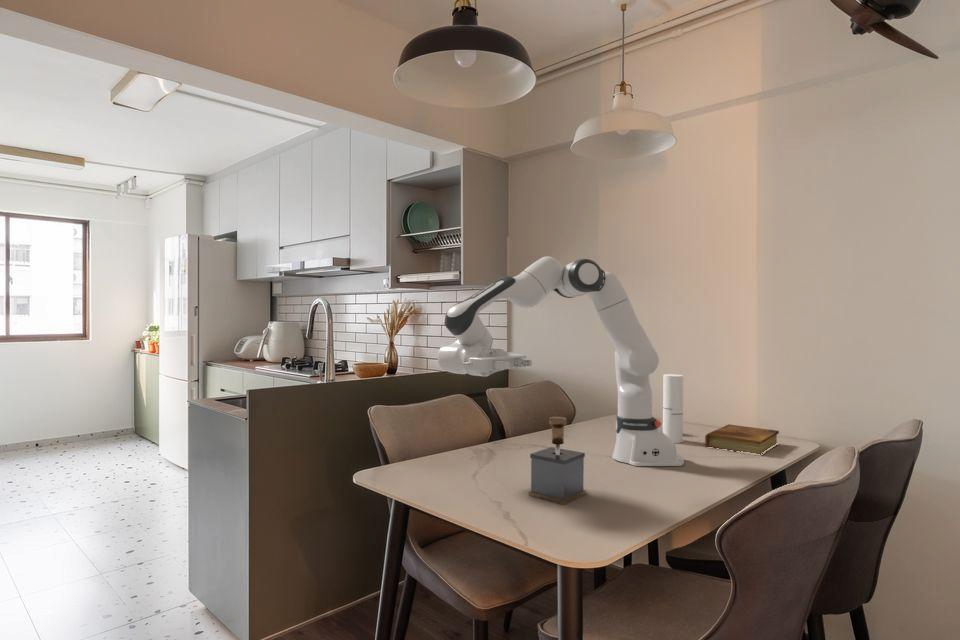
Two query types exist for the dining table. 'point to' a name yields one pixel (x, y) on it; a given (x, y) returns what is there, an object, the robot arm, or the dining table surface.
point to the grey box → (557, 475)
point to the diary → (741, 439)
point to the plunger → (557, 432)
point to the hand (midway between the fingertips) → (520, 364)
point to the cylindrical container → (673, 407)
